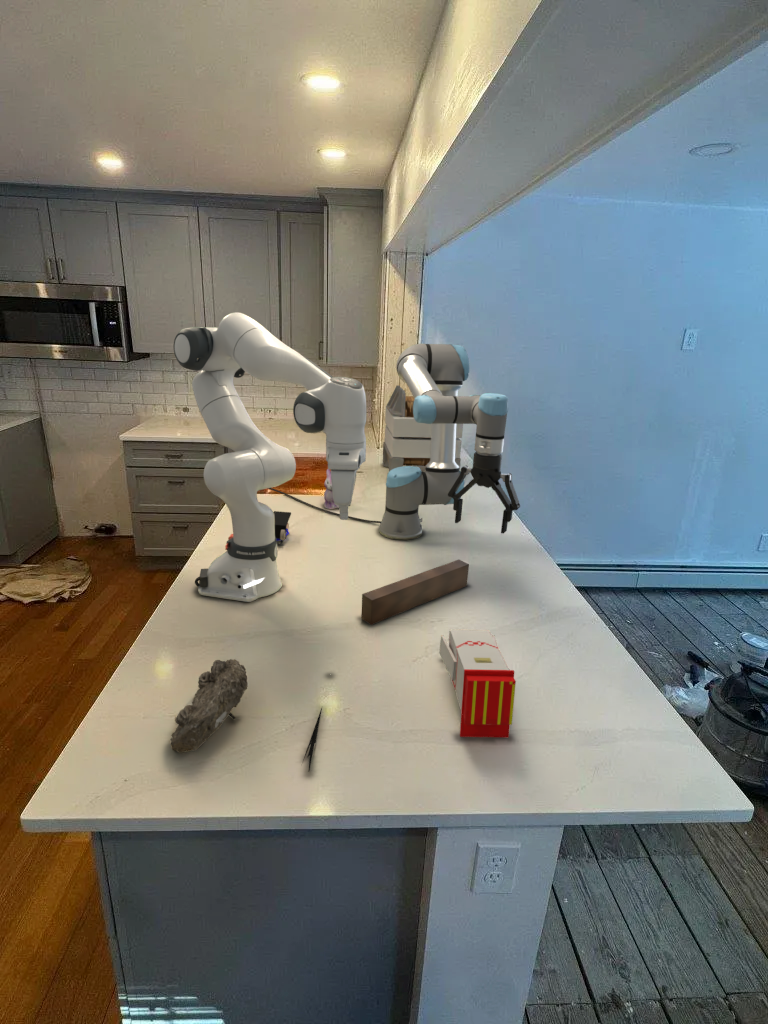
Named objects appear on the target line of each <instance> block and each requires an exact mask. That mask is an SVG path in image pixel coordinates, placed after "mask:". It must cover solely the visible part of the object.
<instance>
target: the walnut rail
mask: <svg viewBox="0 0 768 1024" xmlns="http://www.w3.org/2000/svg"><path fill="white" fill-rule="evenodd" d="M469 569H470V563H467V562H465V561H463V560H461V559H456V560H453V561H450V562H448V563H445V564H442V565H439V566H437V567H434V568H431V569H428V570H425V571H423V572H420V573H417V574H414V575H412V576H409V577H405V578H403V579H400V580H398V581H394V582H392V583H389V584H386V585H383V586H381V587H378V588H375V589H373V590H370V591H367V592H364V593H362V594H361V613H360V615H361V617H360V619H361V620H363V621H365V622H366V623H367V624H369V625H371V626H373V625H375V624H377V623H379V622H382V621H384V620H387V619H389V618H391V617H394V616H396V615H399V614H401V613H404V612H407V611H409V610H412V609H414V608H417V607H419V606H421V605H423V604H426V603H428V602H431V601H433V600H435V599H438V598H442V597H444V596H446V595H449V594H451V593H453V592H455V591H458V590H460V589H463V588H465V587H467V586H468V580H469Z"/></svg>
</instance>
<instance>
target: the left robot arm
mask: <svg viewBox="0 0 768 1024" xmlns="http://www.w3.org/2000/svg"><path fill="white" fill-rule="evenodd" d="M173 353H174V356H175V357H174V358H175V359H176V361H177V362H178V364H179V365H180V366H181V367H182V368H184V369H187V370H190V371H194V372H197V373H196V374H195V375H194V377H193V378H192V382H191V387H192V393H193V395H194V399H195V402H196V405H197V408H198V410H199V412H200V415H201V417H202V419H203V421H204V423H205V425H206V427H207V430H208V431H209V432H208V433H209V434H210V436H211V438H212V440H213V441H215V443H217V444H218V445H220V446H223V447H225V448H228V449H230V450H232V451H233V452H226V453H222V454H220V455H218V456H215V457H214V458H210V459H209V460H207V462H206V464H205V465H204V469H203V481H204V484H205V486H206V488H207V489H208V491H209V492H210V493H211V494H212V495H214V496H215V497H217V498H219V499H220V500H221V501H223V503H224V504H225V505H226V507H227V508H228V510H229V513H230V517H231V525H232V533H231V534H230V535H229V536H228V538H227V541H226V544H225V546H224V547H225V548H224V552H223V553H221V554H220V555H219V556H217V557H216V558H215V559H213V561H212V562H211V563H210V564H209V566H208V568H200V572H199V576H198V577H197V578H196V579H195V580H194V584H195V586H196V587H197V589H198V590H197V592H198V594H199V595H200V596H204V597H205V596H206V597H212V598H220V599H225V600H233V601H239V602H245V603H251V602H254V601H255V600H257V599H260V598H263V597H267V596H268V597H269V596H270V595H273V594H275V593H277V592H278V591H279V590H281V588H282V586H283V582H282V579H281V576H280V573H279V568H278V561H277V560H278V559H277V558H278V541H277V540H276V537H275V518H274V513H273V512H274V511H273V509H272V508H271V507H270V506H269V505H268V504H266V503H264V502H261V501H259V499H258V492H259V491H263V490H268V489H267V488H276V487H279V486H281V485H283V484H285V483H287V482H289V481H291V480H292V479H293V478H294V477H295V474H296V469H297V462H296V458H295V456H294V454H293V453H292V452H291V450H289V448H287V447H285V446H283V445H280V444H278V443H276V441H275V442H274V441H273V440H272V439H270V438H269V437H268V436H267V435H266V434H264V433H263V432H262V431H261V430H260V429H259V428H258V426H256V424H255V423H254V421H253V420H252V418H251V416H250V415H249V412H248V411H247V409H246V407H245V405H244V402H243V401H242V399H241V397H240V395H239V393H238V391H237V389H236V387H235V384H234V378H236V379H240V378H243V377H244V375H245V373H246V374H248V375H249V376H251V377H253V378H255V379H257V380H260V381H264V382H265V381H266V382H281V383H288V384H289V383H290V384H294V385H298V386H300V387H303V388H305V389H306V391H303V392H300V393H299V394H298V395H297V396H296V398H295V400H294V403H293V408H292V413H293V419H294V422H295V425H296V426H297V427H298V428H299V429H300V430H301V431H302V432H304V433H307V434H319V433H323V434H325V460H326V462H327V469H329V470H330V472H331V482H332V493H333V500H334V504H335V505H339V508H338V510H339V514H340V516H339V519H340V520H342V521H347V520H349V518H348V516H349V507H350V506H351V505H352V501H353V495H354V490H355V486H356V481H357V472H358V470H359V469H360V468H361V465H362V464H364V463H365V462H366V460H367V458H366V457H367V437H366V432H365V427H366V423H367V396H366V395H367V394H366V390H365V387H364V385H363V383H362V382H360V381H359V380H357V379H355V378H353V377H345V376H333V375H331V374H330V373H329V372H328V371H326V370H324V369H323V368H322V367H321V366H319V365H318V364H316V363H315V362H314V361H313V360H311V359H309V358H308V357H307V356H305V355H303V354H302V353H300V352H299V351H297V350H295V349H293V348H291V347H290V346H288V345H287V344H285V343H284V342H283V341H281V340H280V339H279V338H278V337H276V336H275V335H273V334H272V333H271V332H270V331H269V330H268V329H267V328H266V327H265V326H264V325H262V324H261V323H259V322H258V321H257V320H256V319H254V318H252V317H250V316H249V315H247V314H245V313H243V312H237V311H236V312H230V313H229V314H227V315H225V316H224V317H223V318H222V319H221V320H220V322H219V324H218V326H213V327H210V326H209V327H206V326H190V327H185V328H182V329H180V330H179V331H178V332H177V333H176V336H175V337H174V340H173Z"/></svg>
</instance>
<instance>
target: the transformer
mask: <svg viewBox="0 0 768 1024" xmlns="http://www.w3.org/2000/svg"><path fill="white" fill-rule="evenodd" d="M414 400H415V399H414V397H413V395H410V396H409V395H407V393H406V390H405V389H404V388H402V387H401V385H399V384H397V385H396V386H395V388H394V389H393V392H392V393H391V395H390V398H389V400H388V402H387V403H386V405H385V413H384V414H385V416H384V424H385V425H384V426H385V427H384V440H383V441H382V442H383V443H382V463H381V464H382V465H383V467H386V468H388V472H389V471H390V470H392V469H394V468H397V467H402V466H411V467H412V466H416V467H426V465H427V464H428V463H429V462H430V449H431V424H426V423H418V422H416V421H415V419H414V414H413V404H414ZM463 431H464V424H456V446H455V463H456V464H457V465H458V466H459V471H461V462H462V458H461V452H462V443H463V442H462V438H463Z"/></svg>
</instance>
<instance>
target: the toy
mask: <svg viewBox="0 0 768 1024" xmlns="http://www.w3.org/2000/svg"><path fill="white" fill-rule="evenodd" d="M438 654H439V656H440V658H441V660H442V662H443V665H444V666H445V668H446V671H447V673H448V675H449V677H450V681H451V683H452V685H453V689H454V690H455V695H456V698H457V702H458V705H459V708H460V726H459V737H460V738H509V737H510V728H511V727H510V726H512V725H513V717H514V706H515V705H514V704H515V693H516V684H517V683H516V679H515V670H514V669H510V667H509V666H508V663H507V662H506V660H505V658H504V655H503V654H502V652H501V650H500V648H499V644H498V642H497V638H496V635H495V634H492V632H491V631H490V629H467V628H466V629H465V628H463V629H461V628H460V629H459V628H450V629H449V631H448V641H447V639H446V638H445V636H444V634H443V635H442V634H441V635H440V641H439V651H438Z"/></svg>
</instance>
